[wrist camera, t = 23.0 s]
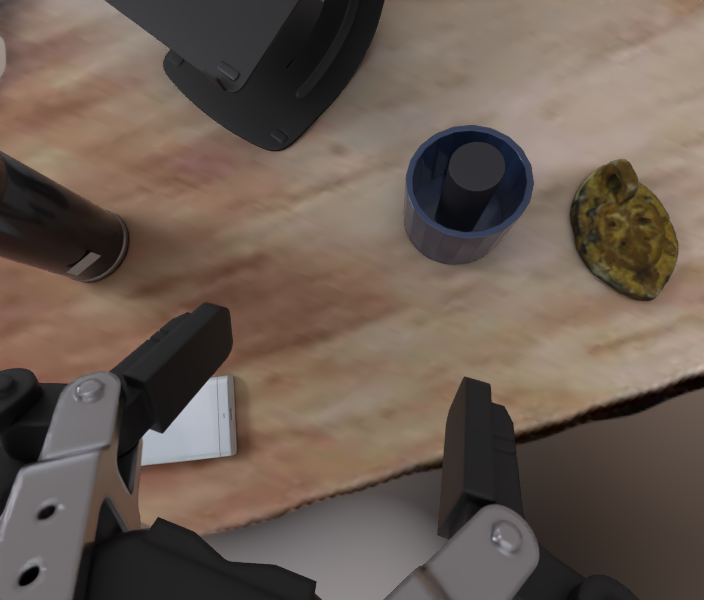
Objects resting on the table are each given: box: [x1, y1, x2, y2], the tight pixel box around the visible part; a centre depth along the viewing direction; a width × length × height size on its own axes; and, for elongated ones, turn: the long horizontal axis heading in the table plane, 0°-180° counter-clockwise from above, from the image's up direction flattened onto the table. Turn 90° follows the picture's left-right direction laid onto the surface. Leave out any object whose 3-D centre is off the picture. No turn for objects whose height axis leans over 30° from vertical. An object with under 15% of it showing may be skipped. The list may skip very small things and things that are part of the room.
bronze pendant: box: [571, 159, 678, 301], centre depth 36 cm, size 9×5×15 cm
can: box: [404, 125, 534, 265], centre depth 36 cm, size 11×11×8 cm
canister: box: [435, 142, 505, 232], centre depth 34 cm, size 5×5×10 cm
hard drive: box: [141, 375, 237, 466], centre depth 38 cm, size 2×8×12 cm
